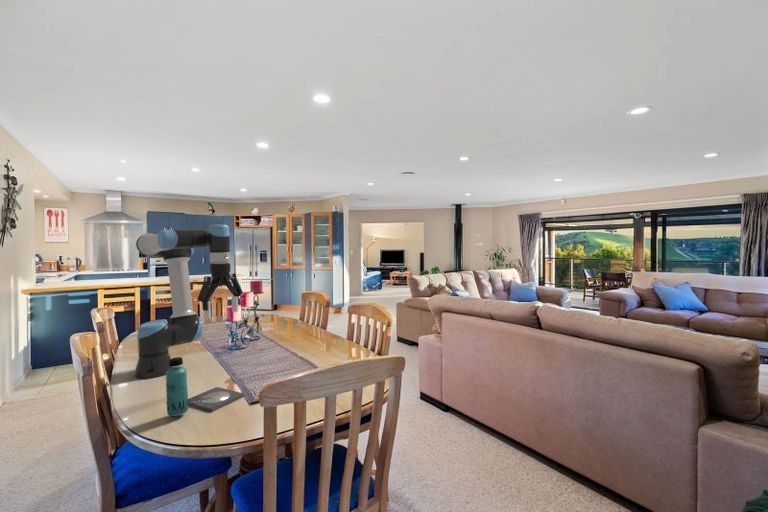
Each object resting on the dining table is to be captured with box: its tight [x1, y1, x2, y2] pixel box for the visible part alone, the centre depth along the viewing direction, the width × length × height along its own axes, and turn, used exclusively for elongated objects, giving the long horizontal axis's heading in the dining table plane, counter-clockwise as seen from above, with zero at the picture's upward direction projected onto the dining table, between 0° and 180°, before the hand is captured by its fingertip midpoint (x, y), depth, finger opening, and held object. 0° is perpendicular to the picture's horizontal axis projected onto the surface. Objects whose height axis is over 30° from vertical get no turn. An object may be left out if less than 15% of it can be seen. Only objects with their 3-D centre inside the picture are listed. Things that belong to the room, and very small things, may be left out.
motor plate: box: [188, 386, 245, 413], centre depth 138 cm, size 16×14×1 cm
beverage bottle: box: [165, 356, 190, 417], centre depth 126 cm, size 6×7×20 cm
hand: (222, 315), depth 151 cm, fingers open, 13 cm apart
